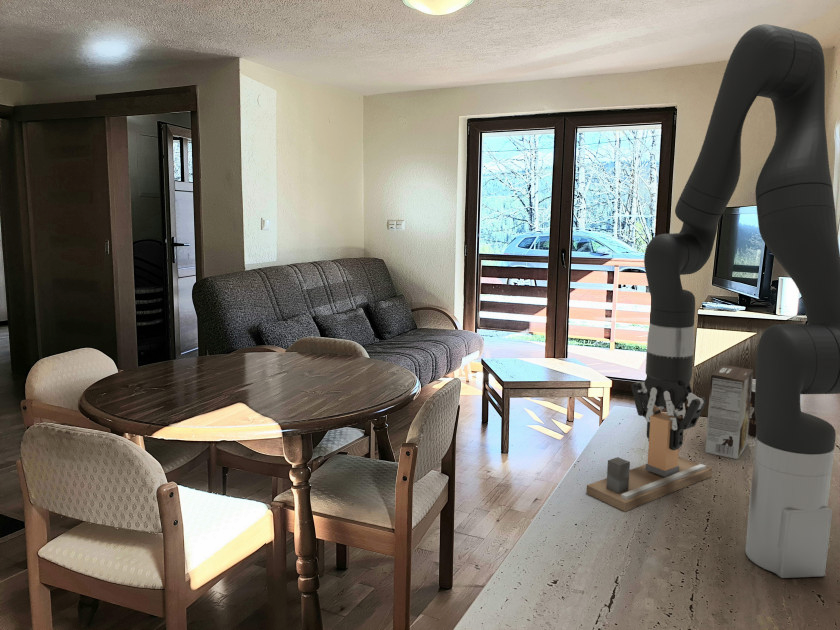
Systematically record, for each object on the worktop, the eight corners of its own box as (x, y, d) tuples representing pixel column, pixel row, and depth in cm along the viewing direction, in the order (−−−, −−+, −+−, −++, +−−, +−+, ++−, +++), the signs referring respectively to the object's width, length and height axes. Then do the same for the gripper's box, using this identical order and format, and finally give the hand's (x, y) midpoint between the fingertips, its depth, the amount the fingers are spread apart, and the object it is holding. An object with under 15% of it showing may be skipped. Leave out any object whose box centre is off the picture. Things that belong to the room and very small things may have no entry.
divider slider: (659, 464, 120) (663, 411, 118) (679, 471, 116) (682, 417, 115) (645, 469, 117) (648, 415, 116) (664, 477, 114) (668, 421, 112)
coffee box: (714, 439, 137) (720, 364, 134) (747, 445, 134) (754, 368, 131) (703, 452, 130) (709, 373, 127) (739, 460, 126) (746, 378, 123)
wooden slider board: (672, 462, 125) (674, 429, 124) (711, 476, 119) (714, 442, 118) (586, 493, 112) (587, 457, 111) (624, 511, 106) (626, 473, 104)
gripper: (721, 355, 109) (713, 453, 112) (648, 340, 121) (643, 429, 124) (694, 361, 105) (687, 463, 108) (622, 345, 117) (617, 437, 120)
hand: (663, 444), depth 116 cm, fingers closed on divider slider, 3 cm apart
